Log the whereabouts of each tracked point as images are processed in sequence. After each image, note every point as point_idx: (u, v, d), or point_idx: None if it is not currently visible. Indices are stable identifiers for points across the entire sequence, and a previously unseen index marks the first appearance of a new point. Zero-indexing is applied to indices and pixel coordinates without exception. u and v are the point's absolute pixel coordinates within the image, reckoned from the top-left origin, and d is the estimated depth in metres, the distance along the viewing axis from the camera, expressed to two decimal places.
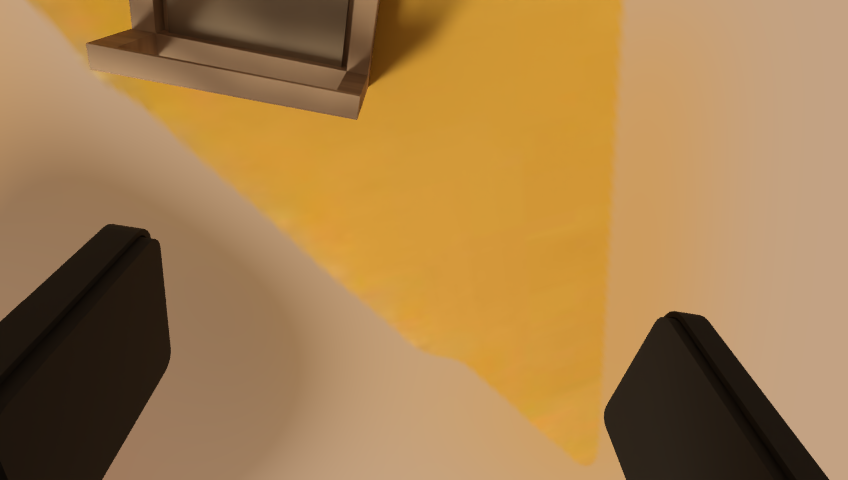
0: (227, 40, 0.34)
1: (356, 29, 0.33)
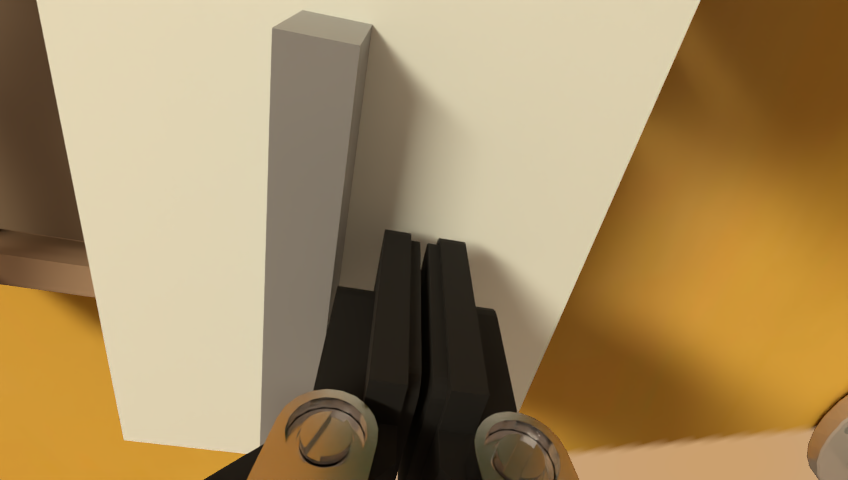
0: None
1: (37, 266, 0.19)
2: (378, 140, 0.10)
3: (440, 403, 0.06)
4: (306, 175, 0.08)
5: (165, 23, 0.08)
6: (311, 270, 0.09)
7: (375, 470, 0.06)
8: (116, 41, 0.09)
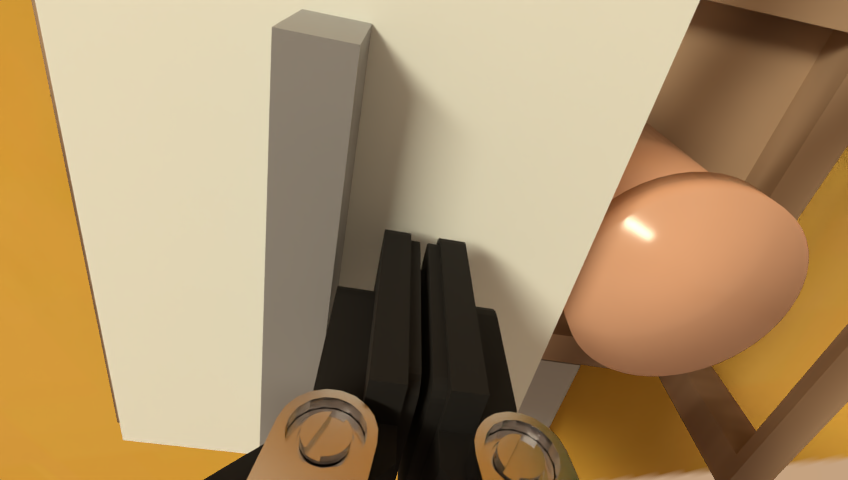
0: None
1: None
2: (378, 139, 0.09)
3: (440, 403, 0.06)
4: (306, 174, 0.08)
5: (164, 22, 0.08)
6: (311, 269, 0.09)
7: (375, 470, 0.06)
8: (115, 40, 0.09)
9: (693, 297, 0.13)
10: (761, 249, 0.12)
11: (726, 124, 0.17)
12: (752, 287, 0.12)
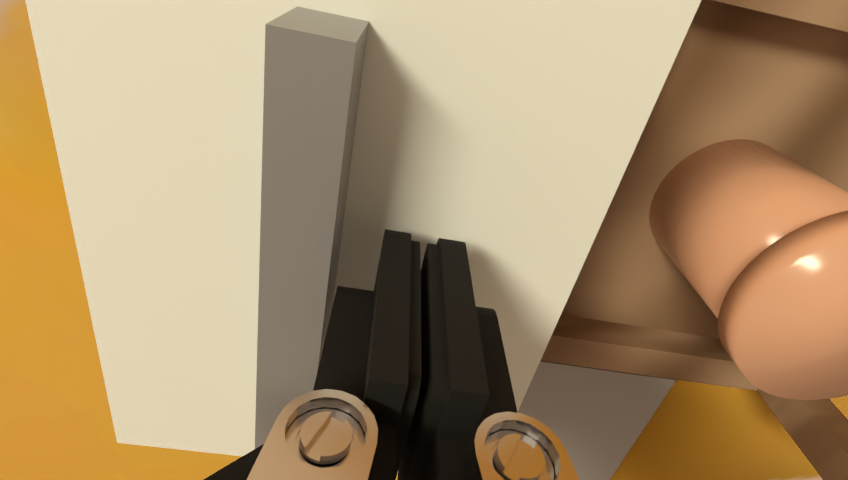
0: None
1: None
2: (375, 138, 0.09)
3: (440, 403, 0.06)
4: (301, 175, 0.08)
5: (157, 19, 0.08)
6: (306, 272, 0.09)
7: (375, 470, 0.06)
8: (106, 37, 0.08)
9: None
10: None
11: None
12: None
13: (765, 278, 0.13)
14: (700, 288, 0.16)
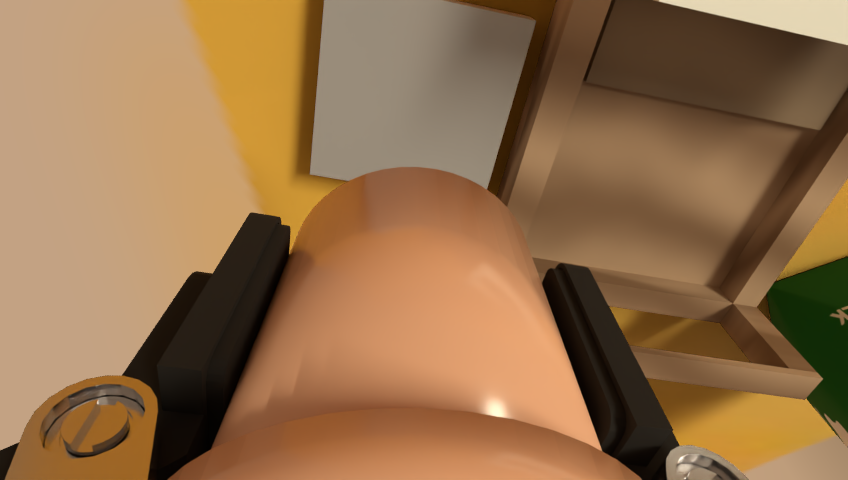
0: None
1: None
2: None
3: (618, 436, 0.07)
4: None
5: None
6: None
7: (157, 462, 0.05)
8: None
9: None
10: None
11: (678, 253, 0.28)
12: None
13: None
14: (323, 315, 0.06)
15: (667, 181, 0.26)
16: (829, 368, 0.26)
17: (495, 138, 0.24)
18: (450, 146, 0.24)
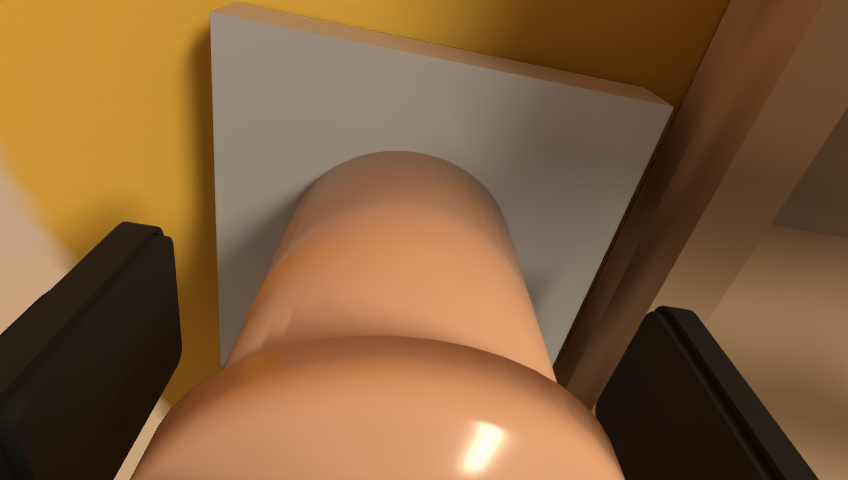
0: None
1: None
2: None
3: None
4: None
5: None
6: None
7: None
8: None
9: None
10: None
11: None
12: None
13: (515, 415, 0.04)
14: (313, 274, 0.07)
15: None
16: None
17: (566, 310, 0.13)
18: None
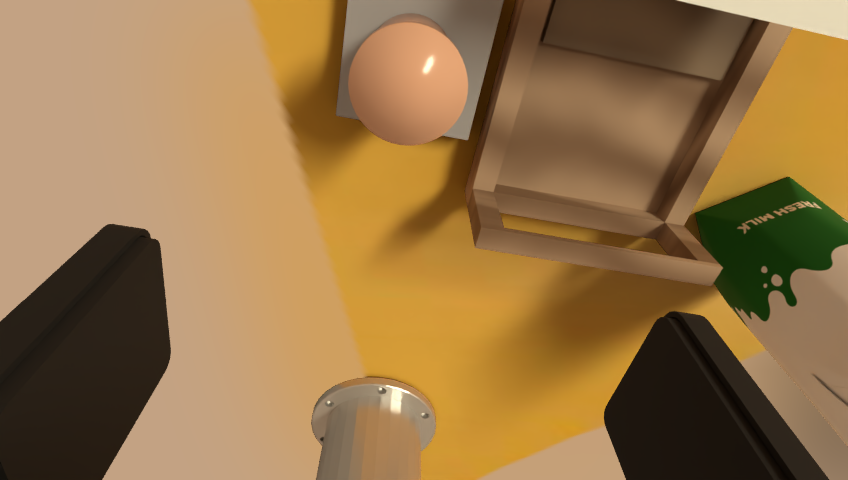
0: None
1: None
2: None
3: None
4: None
5: None
6: None
7: None
8: None
9: (406, 94, 0.25)
10: (434, 118, 0.25)
11: (622, 182, 0.36)
12: (412, 121, 0.25)
13: (435, 29, 0.23)
14: None
15: (609, 122, 0.33)
16: (735, 267, 0.34)
17: (476, 87, 0.31)
18: None
